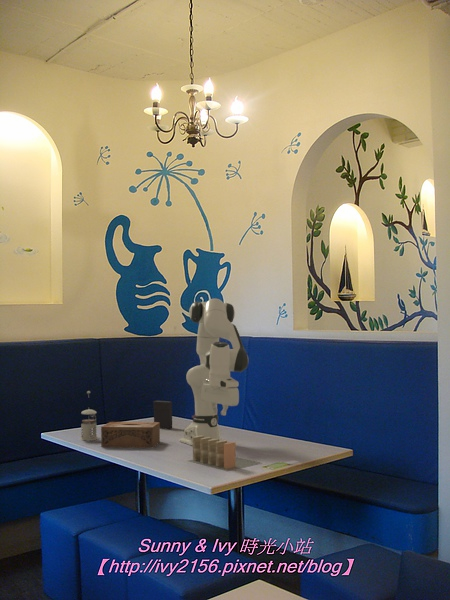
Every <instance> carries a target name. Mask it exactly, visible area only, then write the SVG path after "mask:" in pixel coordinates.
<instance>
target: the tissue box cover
mask: <svg viewBox="0 0 450 600" xmlns="http://www.w3.org/2000/svg"><path fill="white" fill-rule="evenodd" d="M160 429H161V428H160V422H154V421H148V422H147V421H141V422H140V421H109V422H107V423H106V424H104V425H102V426H101V427H100V434H101V437H100V441H101V442H100V443H101V448H147V447H153V448H154V447H156V445H158V444H159V443H160V442H161V439H160V438H161V436H160V434H161V433H160V431H161V430H160ZM159 441H160V442H159ZM158 442H159V443H158ZM157 443H158V444H157Z"/></svg>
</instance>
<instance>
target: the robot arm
mask: <svg viewBox="0 0 450 600" xmlns="http://www.w3.org/2000/svg"><path fill="white" fill-rule="evenodd" d="M190 305H191V306H190V307H189V312H188V315H189V318H190V320H191V322H192V323H195V324H198V329H197V337H196V349H195V350H196V353H197V355H198V357H199V360H200V361H199V362H200V365H196V366H193V367H191V368H190V369H188V371H187V372H186V377H185V378H186V379H185V380H186V382H187V384H188V385H189V386H190V387H191V390H192V393H193V398H194V415H192V416H191V418H193V419H192V422H191V423H190V424H189V425H188V426H186V428H184V431H183V437H181V438H179V439H178V441H179V442H180V443H183V444H187V445H189V446H192V447H193V437H196V436H204V438H206V437H211V438H212V439H219V441H222V438H221V433H220V425H219V424H218V423H219V414H218V410H219V409H218V404H219V405H222V410H221V411H220V415H221V416H226V415H227V411H228V409H229V407H236V406H238V405H239V402H240V391H239V388H238V387H239V381H238V380H236V379H234V378H233V377H232V376H231V372H234V373H235V372H236V373H242V372H244V371H245V370H246V369H247V368H248V367H249V356H248V354H247V351H246V348H245V347H244V344H243V342H242V338H241V335H240V333H239V331H238V328H237V326H236V325H235V324H234V323H233V321H234V319H235V316H236V315H235V314H236V312H235V307H234V305H233V304H231V303H227V302H225V303H224V302H223V301H222V300H221V299H219V298H211V299H209V300H207V301H195V302H194V301H193V302H192V304H190ZM220 338H221V339H224V340H226V341H229V342H230V344H231V346H232V348H231V347H230V345H229V343H228V342H224V341H220Z"/></svg>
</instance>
